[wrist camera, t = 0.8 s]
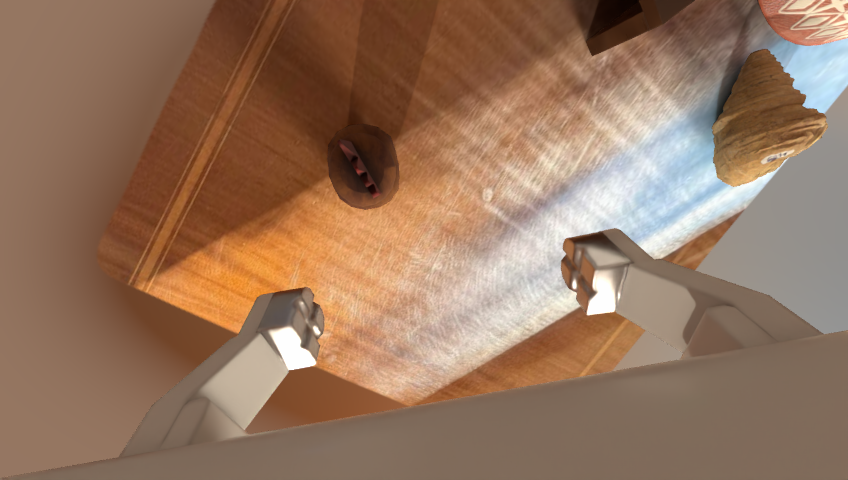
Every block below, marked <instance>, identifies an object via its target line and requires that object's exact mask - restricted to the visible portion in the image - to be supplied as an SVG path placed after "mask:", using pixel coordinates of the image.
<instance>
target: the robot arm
mask: <svg viewBox="0 0 848 480" xmlns="http://www.w3.org/2000/svg"><path fill="white" fill-rule="evenodd" d="M563 250H564V251H565V253H566V255H565V257H564V258H563V259H562V260H561V271H562V277H563V279H564V281H565V283H566V285H567V286H568V288H569V289H571V290H573V291H575V292H577V296H576V300H577V301H578V303H579V304H580V305H581V307H582V308H583V310H584V311H585V313H586V314H587V315H593V314H600V313H606V312H613V311H617V313H618V314H620V315H621V316H623V317H625V318H626V319H628V320H630V321H631V322H633V323H635V324H636V325H638V326H639V327H641V328H643V329H644V330H646V331H648V332H649V333H651V334H653V335H654V336H656V337H658V338H659V339H661V340H662V341H664V342H666V343H667V344H669V345H671V346H672V347H674V348H675V349H677V350H679V351H680V352H682V353H683V355H682V357H681V359H680V360H674V361H668V362H663V363H657V364H651V365H646V366H640V367H634V368H629V369H623V370H617V371H611V372H605V373H600V374H594V375H588V376H583V377H577V378H571V379H565V380H560V381H554V382H548V383H543V384H537V385H531V386H526V387H520V388H514V389H509V390H503V391H497V392H491V393H486V394H480V395H474V396H469V397H463V398H457V399H451V400H445V401H440V402H434V403H428V404H422V405H417V406H411V407H405V408H400V409H394V410H388V411H382V412H376V413H371V414H366V415H360V416H353V417H348V418H342V419H336V420H331V421H325V422H320V423H313V424H308V425H302V426H296V427H291V428H285V429H279V430H273V431H267V432H262V433H256V434H248V433H247V432H246V431H245V429H246V427H247V426H248V425H249V424H250V422H251V421H252V420H253V418H254V417H255V416H256V414H257V413H258V412H259V410H260V409H261V408H262V406H263V405H264V404H265V402H266V401H267V400H268V399H269V397H270V396H271V395H272V393H273V392H274V391H275V389H276V388H277V387H278V385H279V384H280V383H281V381H282V380H283V379H284V377H285V376H286V375H287V373H288V372H289V370H291V369H296V368H300V367H305V366H310V365H315V364H316V361H317V357H318V352H319V348H320V345H319V343H318V341H317V340H318V339H319V337H320V336H321V335H322V334H323V331H324V315H323V311H322V309H321V307H320V305H318V304H316V303H315V302H313V298H314V294H313V292H312V291H311V289H310V288H308V287H304V288H298V289H292V290H286V291H279V292H276V293H269V294H263V295H260V296H259V297H257V299H256V301H255V303H254V305H253V307H252V309H251V311H250V313H249V315H248V317H247V318H246V320H245V322H244V324H243V326H242V328H241V330H240V332H239V334H238V336H237V337H233V338H231V339H230V340H229V341H228V342H226V343H225V344H224V345H223V346H222V347H220V348H219V349H218V350H217V351H216V352H215V353H213V354H212V355H211V356H210V357H209V358H207V359H206V360H205V361H204V362H203V363H202V364H200V365H199V366H198V367H197V368H196V369H194V370H193V371H192V372H191V373H190V374H189V375H187V376H186V377H185V378H184V379H183V380H181V381H180V382H179V383H178V384H177V385H176V386H174V387H173V388H172V389H171V390H170V391H168V392H167V393H166V394H165V395H164V396H163V397H161V398H160V399H159V400H158V401H157V402H156V403H154V404H153V405H152V406H151V408H150V409H149V411H148V412H147V414H146V416H145V417H144V419H143V420H142V422H141V423H140V425H139V426H138V428H137V429H136V431H135V433H134V434H133V436H132V437H131V439H130V440H129V442H128V443H127V445H126V447H125V448H124V450H123V451H122V453H121V454H120V456H119V457H118V458H112V459H107V460H101V461H95V462H89V463H84V464H78V465H72V466H67V467H61V468H55V469H49V470H44V471H38V472H32V473H26V474H21V475H15V476H9V477H4V478H0V480H848V330H846V331H841V332H835V333H829V334H823V333H821V332H820V331H819V330H817V329H816V328H814V327H813V326H811V325H810V324H809V323H807V322H806V321H805V320H803V319H802V318H800V317H799V316H797V315H796V314H795V313H793V312H792V311H790V310H789V309H788V308H786V307H785V306H783V305H782V304H781V303H779V302H778V301H776V300H775V299H773V298H772V297H770V296H769V295H766V294H763V293H760V292H757V291H754V290H751V289H748V288H745V287H742V286H739V285H736V284H733V283H730V282H727V281H725V280H722V279H719V278H715V277H712V276H709V275H707V274H703V273H701V272H698V271H695V270H692V269H689V268H686V267H683V266H680V265H677V264H674V263H671V262H668V261H665V260H662V259H656V260H654V259H653V258H652V257H651V256H649V255H648V254H647V253H646V252H645V251H644V250H643V249H641V248H640V247H639V246H638V245H637V244H636V243H635V242H633V241H632V240H631V239H630V238H629V237H628V236H627V235H625V234H624V233H623V232H622V231H621V230H619V229H616V228H614V229H609V230H604V231H599V232H597V233H591V234H586V235H581V236H576V237H571V238H566V239H565V241H564V243H563Z"/></svg>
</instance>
